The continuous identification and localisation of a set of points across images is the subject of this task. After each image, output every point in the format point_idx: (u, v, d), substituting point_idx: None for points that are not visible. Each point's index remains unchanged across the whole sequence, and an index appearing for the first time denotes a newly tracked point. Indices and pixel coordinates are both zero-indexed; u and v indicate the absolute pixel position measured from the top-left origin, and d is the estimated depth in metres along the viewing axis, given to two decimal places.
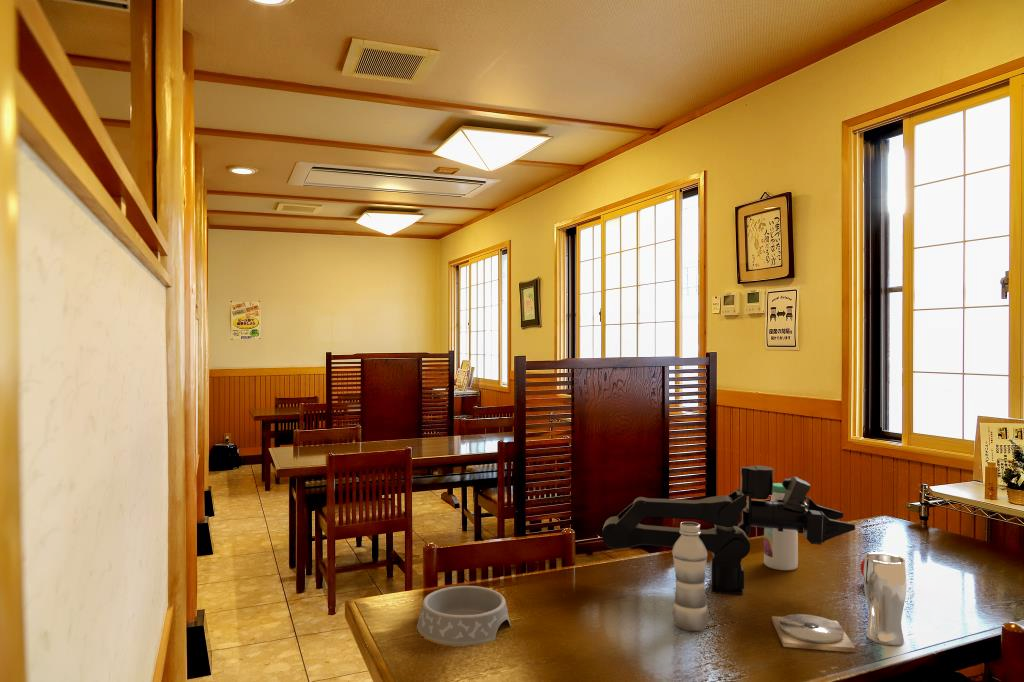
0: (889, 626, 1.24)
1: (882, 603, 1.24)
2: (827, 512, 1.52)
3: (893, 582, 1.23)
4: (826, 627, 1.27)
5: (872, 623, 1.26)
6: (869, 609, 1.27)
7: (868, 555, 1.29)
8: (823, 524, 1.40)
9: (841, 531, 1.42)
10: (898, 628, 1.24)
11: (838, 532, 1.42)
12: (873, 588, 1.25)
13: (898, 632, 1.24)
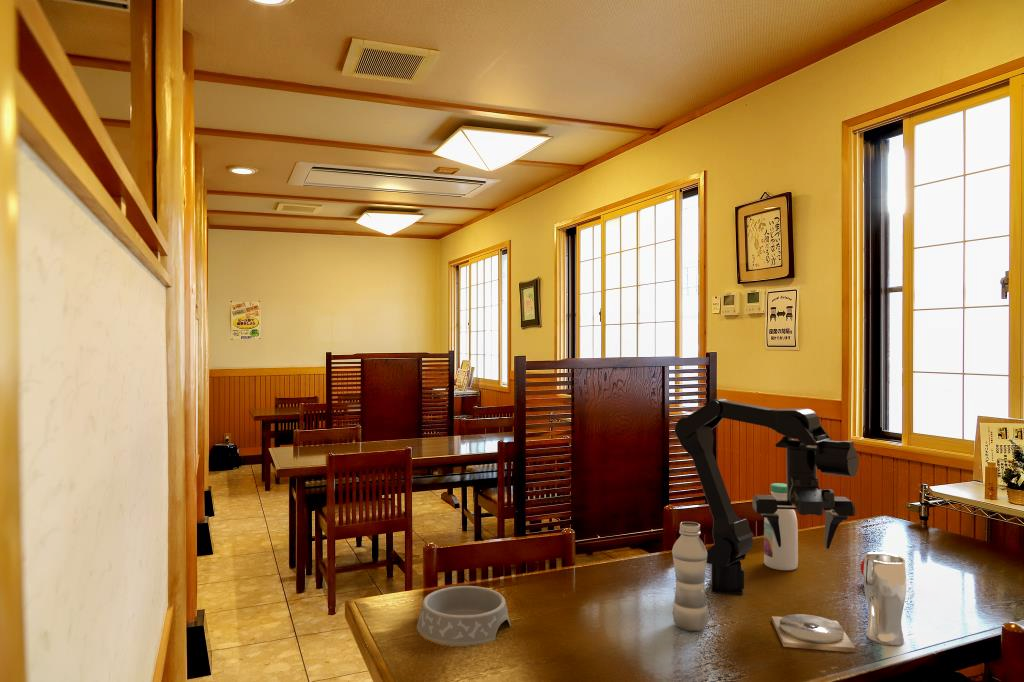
0: (889, 626, 1.24)
1: (882, 603, 1.24)
2: (827, 532, 1.39)
3: (893, 582, 1.23)
4: (826, 627, 1.27)
5: (872, 623, 1.26)
6: (869, 609, 1.27)
7: (868, 555, 1.29)
8: (762, 513, 1.40)
9: (773, 532, 1.41)
10: (898, 628, 1.24)
11: (772, 528, 1.42)
12: (873, 588, 1.25)
13: (898, 632, 1.24)
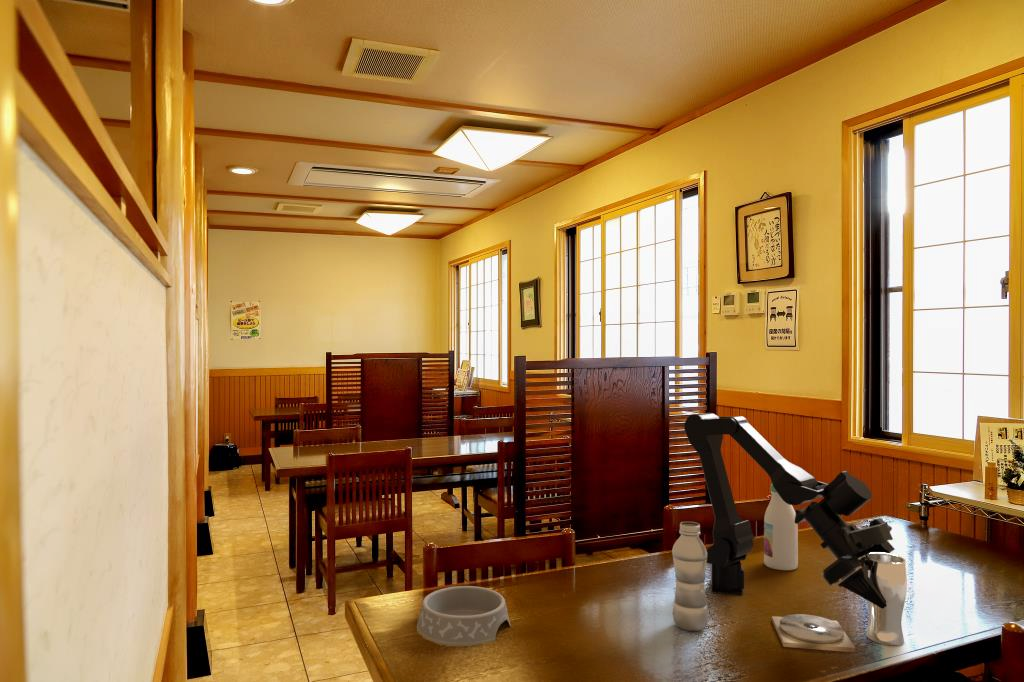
0: (889, 626, 1.24)
1: None
2: None
3: (893, 581, 1.23)
4: (826, 627, 1.27)
5: (872, 623, 1.26)
6: (869, 609, 1.27)
7: (869, 555, 1.29)
8: (852, 574, 1.24)
9: (868, 597, 1.24)
10: (898, 628, 1.24)
11: (863, 594, 1.25)
12: None
13: (898, 632, 1.24)
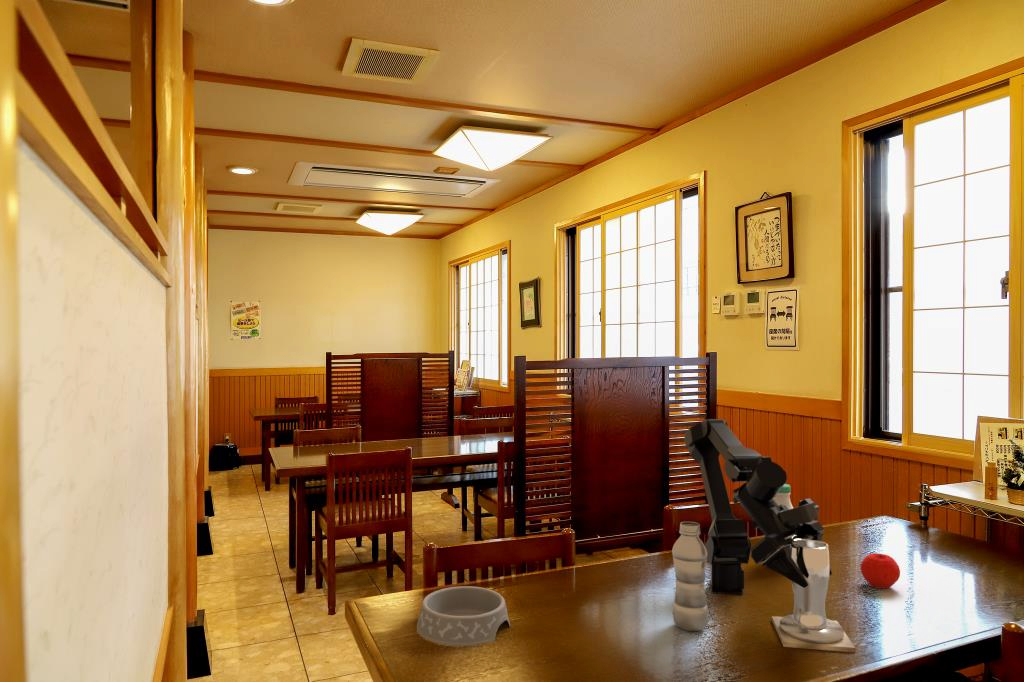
0: (812, 610, 1.27)
1: (806, 587, 1.27)
2: None
3: (815, 566, 1.26)
4: (826, 627, 1.27)
5: (797, 607, 1.29)
6: (794, 593, 1.29)
7: (795, 541, 1.32)
8: (774, 554, 1.25)
9: (790, 576, 1.25)
10: (821, 612, 1.27)
11: (786, 574, 1.26)
12: None
13: (821, 616, 1.27)
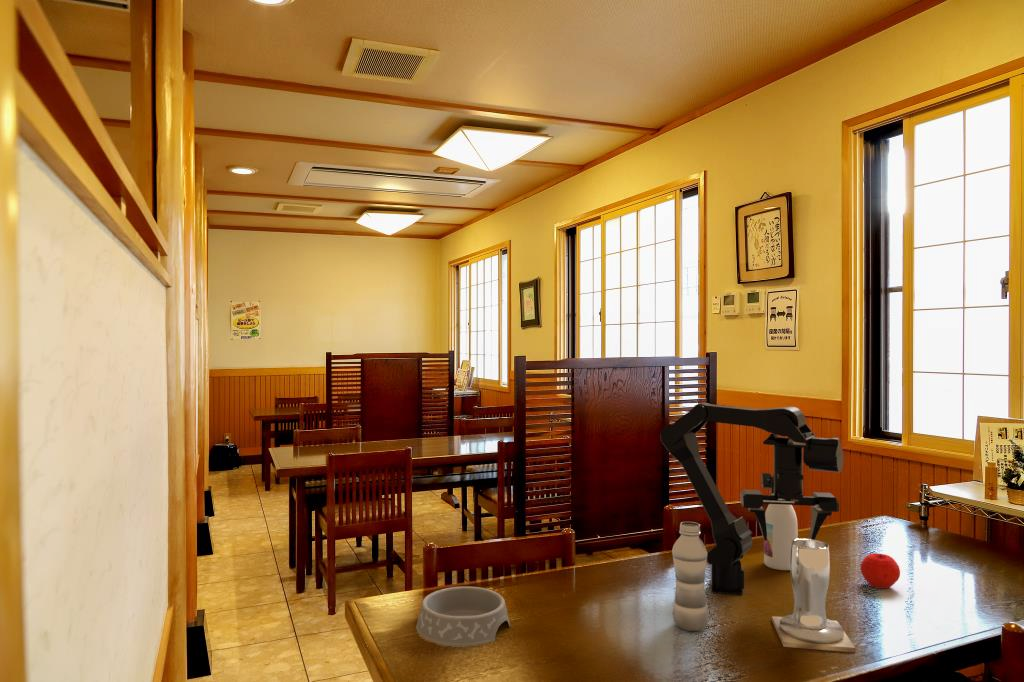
0: (812, 610, 1.27)
1: (806, 587, 1.27)
2: None
3: (816, 566, 1.26)
4: (826, 627, 1.27)
5: (797, 607, 1.29)
6: (794, 593, 1.29)
7: (795, 541, 1.32)
8: None
9: None
10: (821, 612, 1.27)
11: None
12: (797, 573, 1.28)
13: (821, 616, 1.27)
